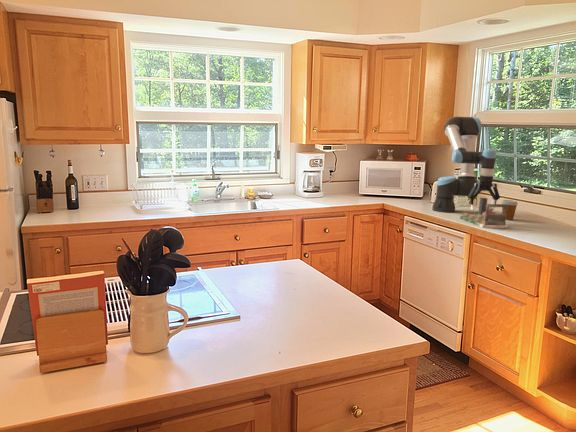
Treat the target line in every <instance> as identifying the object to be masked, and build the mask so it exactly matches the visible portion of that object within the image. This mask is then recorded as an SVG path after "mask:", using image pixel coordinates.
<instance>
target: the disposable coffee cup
mask: <svg viewBox="0 0 576 432" xmlns="http://www.w3.org/2000/svg"><path fill="white" fill-rule="evenodd" d="M501 204H507V205H508V207H507V212H506V219H505V221H513V220H514V217H515V214H516V211H517V206H518V205H519V203H518V201H517V200H513V199H502V201H501ZM501 212H502V214H501V215H503V213H504V207H501Z"/></svg>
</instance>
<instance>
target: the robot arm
mask: <svg viewBox="0 0 576 432" xmlns="http://www.w3.org/2000/svg"><path fill="white" fill-rule="evenodd" d="M482 129H483V128H482V121H481V120H480V118H479V117H473V116H454V117H451V118H449V119H447V121H446V122H445V124H444V127H443V132H444V135H445V136H446V137H447V138H448V141H449V144H450V146H451V149H452V154H451V162H452V163H454V164H460V172H459V173H460V174H459V175H458V176H457V177H456V176H453V175H449V176H440V177H439V178H438V179H437V184H436V194H435V199H434V202H433V204H432V205H431V206H432V207H431V208H432V209H431V210H433V211H436V212H438V213H439V212H440V213H455V212H456V205H455V200H454V199H455V197H467V198H469V199H470V200H469V204H470V210H471V211H474V210H475V205H476V198H477V197H478V196H479V194H480V193H481V192H485V191H486V192H488V193H489V195H491V197H492V199H491V203H490V204H497V201H498V200H500V198H501V196H500V193H499V189H498V183H493V180H494V175H495V173H494V172H495V165H496V159H497V151H496V150H495V149H483V151H476V139H478V136H479V135H480V134H481V132H482ZM475 165H481V166H480V173H479V180H478V179H477V177H476V175H475ZM492 208H493V211H495V208H496V207H492Z"/></svg>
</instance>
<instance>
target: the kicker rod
mask: <svg viewBox="0 0 576 432" xmlns="http://www.w3.org/2000/svg"><path fill="white" fill-rule="evenodd" d="M486 204H488V198H487V197H480V198H479V205H478V211H477V212H478V213H477V214H478V215H479V214H481V215H484V218H483V219H484V220H485V213H486ZM488 215H496V211H494V210H493V208H492V207H489V212H488Z"/></svg>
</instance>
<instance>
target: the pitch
mask: <svg viewBox="0 0 576 432" xmlns="http://www.w3.org/2000/svg"><path fill="white" fill-rule="evenodd" d="M489 207H495V208H502V207H504V213H503V215H502V214H495V215H488V212H489ZM507 207H508V205H507V204H502V203H501V204H498V203H496V204H491V203H487V204H486V213H485V220H484V219H483V218H484V215H481V214H478V215H474V214H471V213H468V212H465V211H462V215H460V216H459V219H461V220H463V221H465V222H468V223H470V224H472V223H473V224H472V225H475V226H478V227H479V228H482V229H483V228H484V229H486V228H489V229H490V228H492V229H493V228H494V229H496V228H497V229H499V228H502V229H503V228H504V229H505V228H508V224H506V223H507V222H506V221H507V220H505V219H506V212H507Z"/></svg>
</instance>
